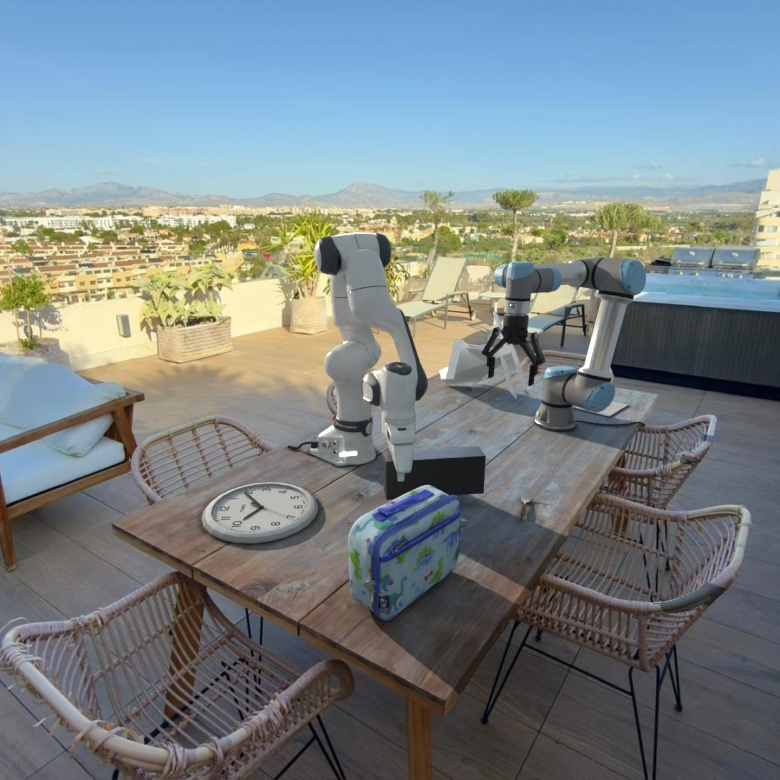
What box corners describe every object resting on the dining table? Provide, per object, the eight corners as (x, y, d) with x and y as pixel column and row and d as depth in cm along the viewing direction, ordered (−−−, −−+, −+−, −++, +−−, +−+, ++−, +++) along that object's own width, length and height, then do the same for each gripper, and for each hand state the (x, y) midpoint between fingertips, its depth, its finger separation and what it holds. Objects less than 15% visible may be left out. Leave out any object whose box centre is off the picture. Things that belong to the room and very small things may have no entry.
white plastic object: (461, 429, 252) (437, 405, 227) (444, 352, 274) (420, 323, 250) (535, 404, 240) (518, 377, 215) (510, 326, 262) (492, 293, 237)
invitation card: (608, 416, 214) (573, 407, 224) (608, 416, 214) (573, 408, 224) (628, 404, 229) (594, 396, 238) (628, 405, 229) (594, 397, 238)
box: (477, 482, 147) (478, 446, 144) (483, 493, 141) (485, 455, 138) (383, 488, 144) (383, 451, 141) (386, 500, 138) (386, 461, 135)
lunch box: (378, 635, 98) (379, 537, 91) (341, 606, 105) (340, 513, 99) (464, 574, 115) (470, 488, 109) (427, 553, 122) (431, 471, 116)
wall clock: (315, 535, 126) (186, 539, 123) (315, 541, 126) (187, 545, 123) (320, 478, 154) (216, 480, 152) (320, 483, 155) (216, 485, 152)
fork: (515, 521, 136) (516, 514, 135) (522, 493, 150) (523, 487, 150) (525, 523, 135) (526, 516, 135) (531, 495, 150) (532, 489, 149)
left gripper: (381, 412, 145) (382, 458, 149) (391, 440, 126) (391, 492, 130) (404, 411, 146) (404, 457, 150) (417, 439, 126) (416, 490, 130)
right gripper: (474, 311, 163) (469, 376, 169) (552, 320, 149) (544, 391, 155) (485, 308, 169) (480, 371, 175) (561, 317, 155) (553, 385, 161)
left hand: (398, 473), depth 140 cm, fingers closed on box, 6 cm apart
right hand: (510, 381), depth 165 cm, fingers open, 13 cm apart
